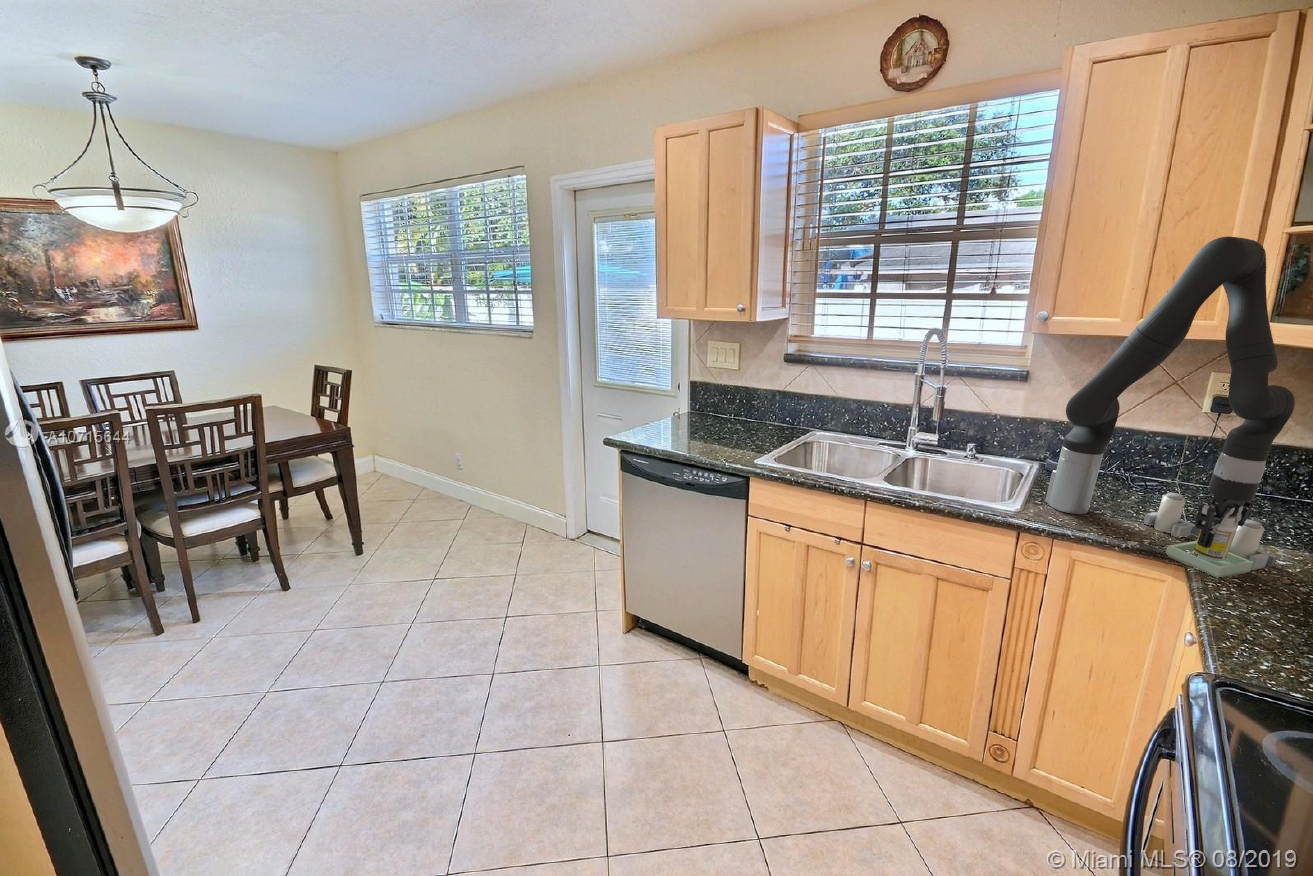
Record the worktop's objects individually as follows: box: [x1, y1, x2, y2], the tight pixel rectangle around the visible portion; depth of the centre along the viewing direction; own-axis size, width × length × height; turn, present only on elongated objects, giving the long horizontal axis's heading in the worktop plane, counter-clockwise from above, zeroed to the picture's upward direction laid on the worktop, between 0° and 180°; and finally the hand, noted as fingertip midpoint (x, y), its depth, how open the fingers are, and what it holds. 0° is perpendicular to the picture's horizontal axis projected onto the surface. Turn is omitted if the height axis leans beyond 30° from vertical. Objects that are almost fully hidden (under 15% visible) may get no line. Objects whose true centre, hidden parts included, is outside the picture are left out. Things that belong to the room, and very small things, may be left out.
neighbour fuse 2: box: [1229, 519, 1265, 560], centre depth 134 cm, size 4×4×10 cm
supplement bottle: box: [1194, 516, 1237, 561], centre depth 132 cm, size 6×6×10 cm
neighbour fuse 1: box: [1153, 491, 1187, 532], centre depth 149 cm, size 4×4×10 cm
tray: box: [1165, 540, 1253, 579], centre depth 134 cm, size 11×11×2 cm
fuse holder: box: [1143, 511, 1279, 571], centre depth 143 cm, size 24×7×3 cm, turn 17°
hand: (1212, 544), depth 133 cm, fingers closed on supplement bottle, 5 cm apart
